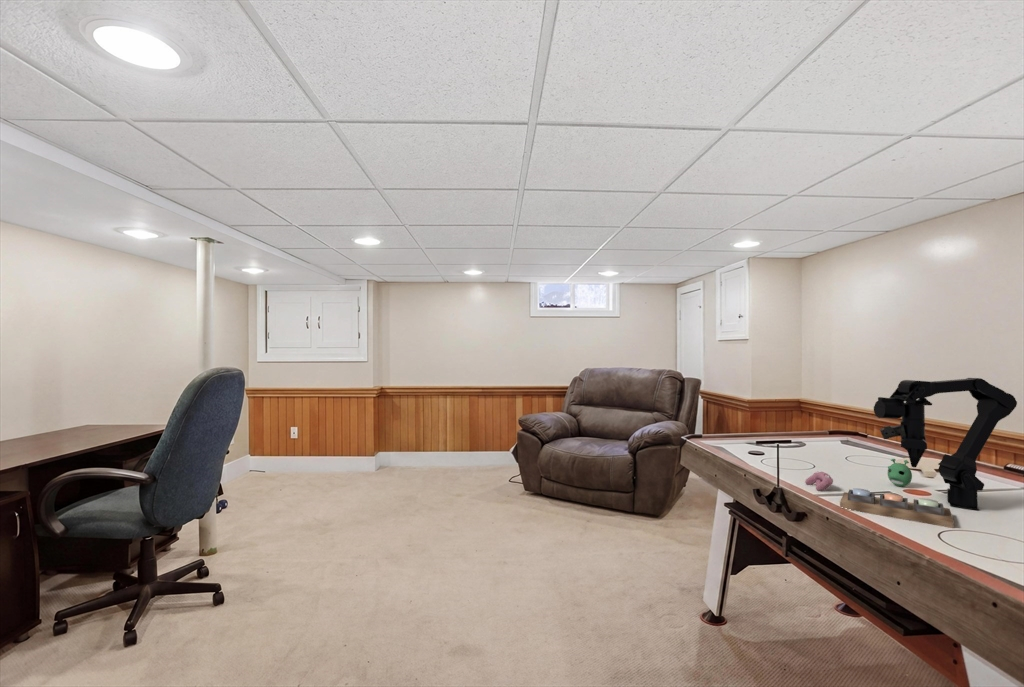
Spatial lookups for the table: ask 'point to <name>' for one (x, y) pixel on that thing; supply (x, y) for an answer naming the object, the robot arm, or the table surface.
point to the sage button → (928, 502)
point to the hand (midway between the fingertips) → (913, 467)
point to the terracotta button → (893, 497)
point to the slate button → (861, 492)
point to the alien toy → (899, 473)
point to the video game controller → (820, 480)
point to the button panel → (898, 509)
